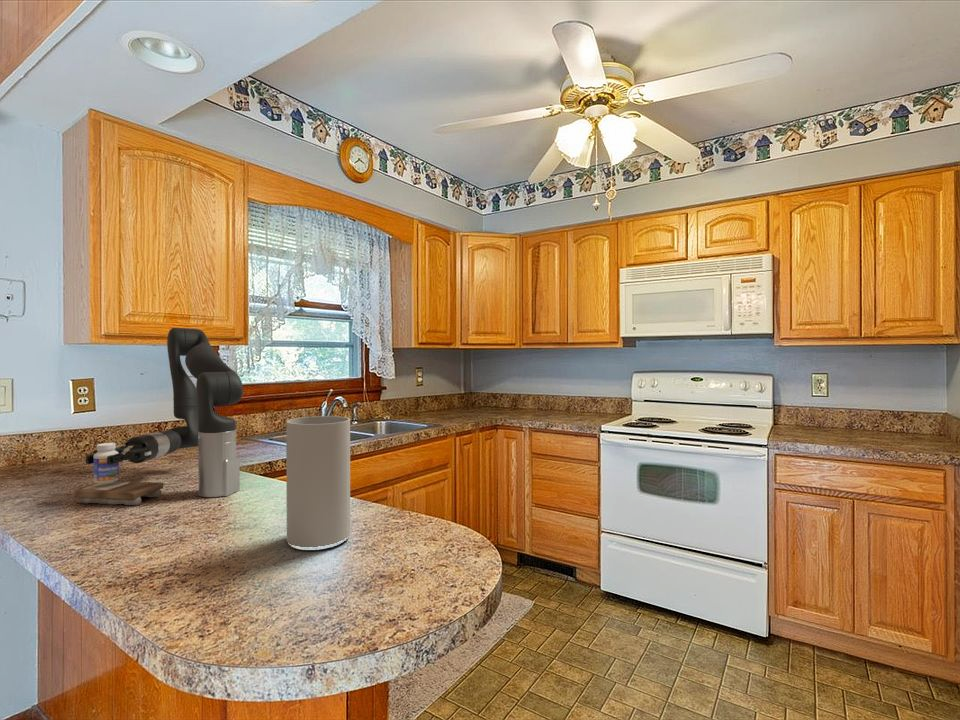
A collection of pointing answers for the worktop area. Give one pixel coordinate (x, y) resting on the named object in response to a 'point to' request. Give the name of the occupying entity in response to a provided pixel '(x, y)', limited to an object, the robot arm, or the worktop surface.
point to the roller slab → (119, 492)
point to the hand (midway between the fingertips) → (97, 460)
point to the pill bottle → (105, 464)
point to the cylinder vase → (318, 480)
